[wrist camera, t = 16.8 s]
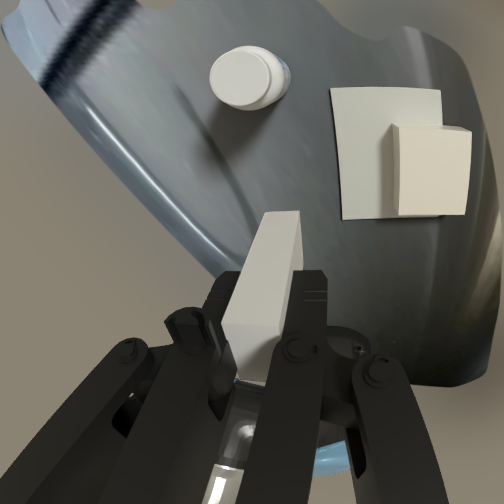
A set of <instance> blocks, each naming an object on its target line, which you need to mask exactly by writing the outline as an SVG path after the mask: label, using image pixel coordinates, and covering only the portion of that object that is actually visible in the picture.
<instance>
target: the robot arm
mask: <svg viewBox="0 0 504 504" xmlns="http://www.w3.org/2000/svg"><path fill="white" fill-rule="evenodd" d="M327 282H328V279H327V278H326V276H325V275H324V273H323V272H322V270H303V252H302V238H301V226H300V214H299V211H281V212H265V214H264V216H263V219H262V221H261V224H260V226H259V229H258V231H257V234H256V236H255V239H254V241H253V244H252V246H251V249H250V251H249V254H248V256H247V259H246V261H245V264H244V266H243V269H242V271H225V272H224V273H223V274H222V275H220V276H219V277H218V278H217V279H216V280H215V282H214V284H213V286H212V288H211V291H210V293H209V294H208V297H207V300H206V301H205V303H204V305H203V307H202V309H201V308H197V307H185V308H182V309H179V310H177V311H175V312H174V313H172V314H171V315H169V316H168V317H167V319H166V320H165V321H164V323H165V325H166V327H167V329H168V331H169V333H170V335H171V337H172V339H173V341H174V342H173V344H170V345H165V346H159V347H150V348H148V346H147V344H146V343H145V342H144V341H143V340H142V339H139V338H128V339H125V340H123V341H121V342H119V343H118V344H117V345H116V346H115V347H113V349H112V350H111V351H110V352H109V353H108V354H107V355H106V356H105V357H104V358H103V359H102V361H101V362H100V363H99V364H98V365H97V366H96V367H95V368H94V369H93V370H92V371H91V373H90V374H89V375H88V376H87V377H86V378H85V379H84V381H82V383H81V384H80V385H79V386H78V387H77V388H76V389H75V390H74V391H73V393H72V394H71V395H70V396H69V397H68V398H67V399H66V401H65V402H64V403H63V404H62V405H61V406H60V408H59V409H58V410H57V411H56V412H55V413H54V414H53V416H52V417H51V418H50V419H49V420H48V421H47V422H46V424H45V425H44V426H43V427H42V428H41V429H40V431H39V432H38V433H37V434H36V436H35V437H34V438H33V439H32V440H31V441H30V443H29V444H28V445H27V446H26V447H25V449H24V450H23V451H22V452H21V454H20V455H19V456H18V457H17V458H16V460H15V461H14V462H13V463H12V465H11V466H10V467H9V468H8V470H7V471H6V472H5V474H4V475H3V476H2V477H1V479H0V504H308V499H309V494H310V488H311V482H312V477H314V476H325V475H331V474H336V473H340V472H344V471H346V470H349V469H351V475H352V480H353V486H354V491H355V497H356V503H357V504H449V502H448V498H447V494H446V490H445V487H444V482H443V479H442V475H441V472H440V469H439V465H438V462H437V459H436V456H435V452H434V449H433V446H432V443H431V440H430V437H429V434H428V431H427V428H426V425H425V423H424V420H423V417H422V414H421V412H420V409H419V406H418V404H417V401H416V398H415V396H414V393H413V391H412V388H411V386H410V383H409V381H408V378H407V376H406V374H405V371H404V369H403V367H402V366H401V364H400V363H399V361H398V360H396V359H395V358H393V357H391V356H389V355H385V354H381V353H378V354H371V348H370V344H369V342H368V340H367V339H366V338H365V337H364V336H363V335H361V334H360V333H358V332H356V331H354V330H351V329H348V328H343V327H327ZM237 372H238V375H239V378H240V379H241V380H251V381H263V382H266V385H265V386H260V385H256V384H252V383H248V382H244V381H240V380H239V379H238V378H235V376H236V373H237ZM131 393H134V395H133V396H131V397H129V396H130V394H131Z"/></svg>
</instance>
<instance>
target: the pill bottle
mask: <svg viewBox="0 0 504 504" xmlns="http://www.w3.org/2000/svg"><path fill="white" fill-rule="evenodd" d="M290 82H291V75H290V71H289V68H288V66H287V65H286V63H285V62H284V61H283V60H282V59H280V58H279V57H278V56H276V55H274V54H273V53H271V52H269V51H267V50H265V49H263V48H260V47H255V46H243V47H238V48H235V49H233V50H231V51H229V52H227V53H225V54H223V55H222V56H220V57H219V58H218V59H217V60H216V61H215V63H214V64H213V66H212V68H211V71H210V85H211V88H212V90H213V92H214V94H215V95H216V96H217V97H218V98H219V99H220V100H221V101H223V102H225V103H227V104H228V105H230V106H232V107H234V108H236V109H240V110H258V109H261V108H264V107H266V106H268V105H270V104H271V103H273V102H275V101H277V100H278V99H280V98H281V97H282V96H283V95H284V94H285V93H286V92H287V90H288V88H289V86H290Z"/></svg>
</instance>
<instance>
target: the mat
mask: <svg viewBox="0 0 504 504" xmlns="http://www.w3.org/2000/svg"><path fill="white" fill-rule="evenodd" d="M330 91H331V98H332V105H333V112H334V120H335V129H336V138H337V147H338V158H339V169H340V182H341V198H342V218H343V220H348V219H374V218H405V217H438V215H398V214H397V212H396V210H395V208H394V206H393V181H394V164H393V131H392V123H410V124H430V125H442V105H441V92H440V90H433V89H420V88H401V87H348V88H330Z"/></svg>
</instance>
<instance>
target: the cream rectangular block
mask: <svg viewBox="0 0 504 504" xmlns="http://www.w3.org/2000/svg"><path fill="white" fill-rule="evenodd" d="M392 131H393V164H394V181H393V206H394V208H395V210H396V212H397V214H398V215H465V209H466V202H467V194H468V185H469V175H470V161H471V137H472V132H470V131H468V130H466V129H464V128H462V127H456V126H444V125H430V124H410V123H392Z"/></svg>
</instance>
